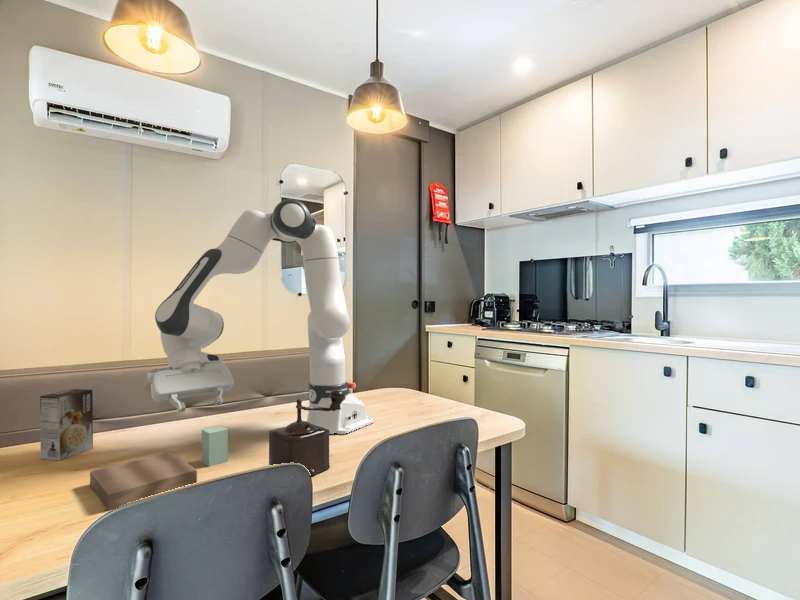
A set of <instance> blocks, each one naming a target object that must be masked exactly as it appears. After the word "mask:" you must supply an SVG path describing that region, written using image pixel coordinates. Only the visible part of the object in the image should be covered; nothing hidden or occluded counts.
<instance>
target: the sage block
mask: <svg viewBox="0 0 800 600" xmlns="http://www.w3.org/2000/svg"><path fill="white" fill-rule="evenodd" d="M228 432H229V430H228V428H226V427H224V426H223V425H217V426H212V427H208V428H202V429H201V463H203V464H204V465H206V466H207V467H208V468H210V467H213V466H217V465H220V464H224V463H227V461H229V440H228V439H229V438H228V437H229V436H228Z"/></svg>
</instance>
